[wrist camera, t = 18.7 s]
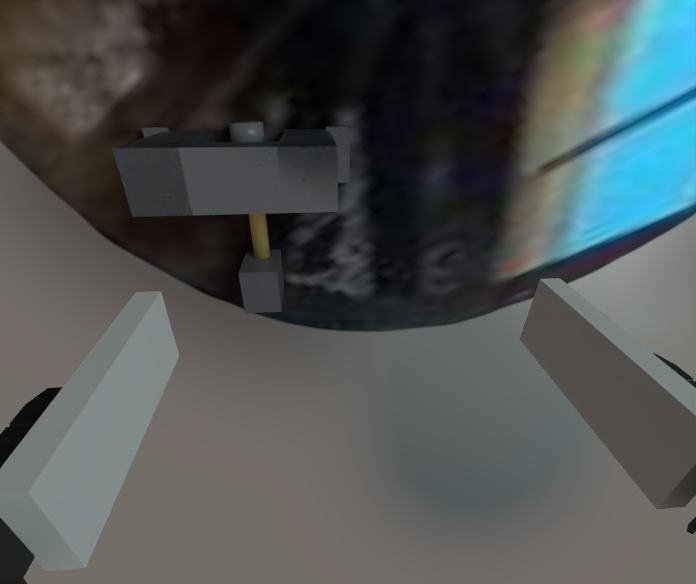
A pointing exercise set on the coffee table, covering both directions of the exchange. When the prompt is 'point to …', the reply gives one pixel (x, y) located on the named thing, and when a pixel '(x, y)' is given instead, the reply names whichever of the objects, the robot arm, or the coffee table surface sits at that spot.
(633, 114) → the coffee table surface
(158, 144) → the housing
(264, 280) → the yellow handled grey mallet
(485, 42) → the coffee table surface
